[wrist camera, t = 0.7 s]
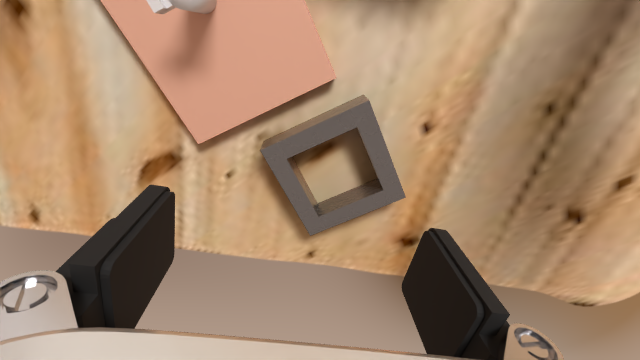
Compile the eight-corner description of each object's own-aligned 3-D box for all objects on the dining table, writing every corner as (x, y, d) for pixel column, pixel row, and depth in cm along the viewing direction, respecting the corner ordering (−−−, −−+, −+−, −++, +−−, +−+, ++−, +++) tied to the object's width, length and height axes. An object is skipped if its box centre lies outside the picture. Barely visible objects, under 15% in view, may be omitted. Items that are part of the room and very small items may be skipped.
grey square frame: (363, 94, 32) (368, 100, 29) (398, 185, 37) (405, 197, 34) (263, 141, 34) (260, 150, 31) (309, 221, 38) (310, 235, 36)
